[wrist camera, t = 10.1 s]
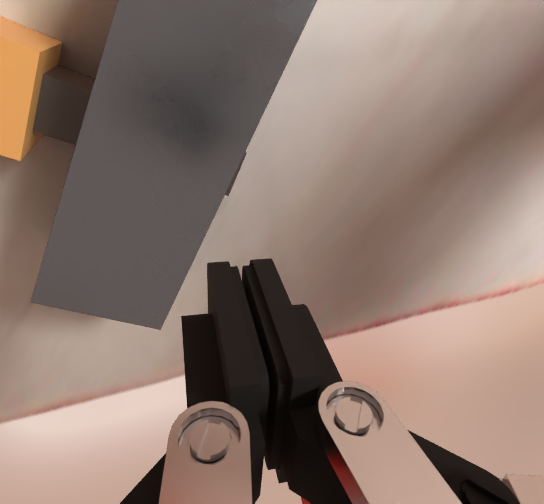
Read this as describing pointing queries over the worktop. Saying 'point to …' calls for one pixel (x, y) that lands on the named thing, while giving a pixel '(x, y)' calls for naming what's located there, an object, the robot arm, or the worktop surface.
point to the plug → (40, 92)
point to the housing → (161, 149)
